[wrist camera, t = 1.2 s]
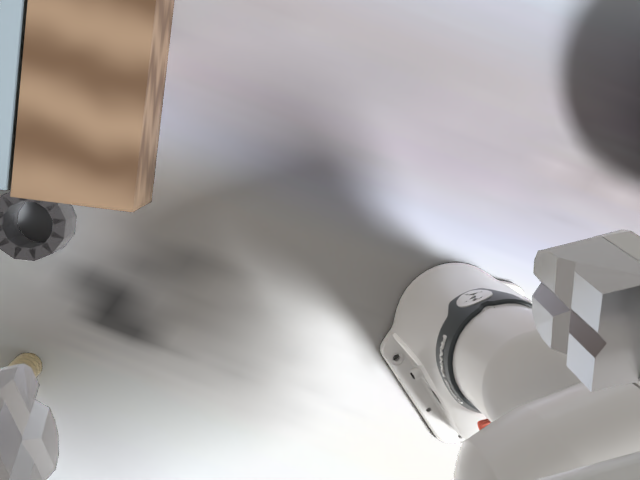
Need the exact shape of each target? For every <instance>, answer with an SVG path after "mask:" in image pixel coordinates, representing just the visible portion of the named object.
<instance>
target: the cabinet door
mask: <svg viewBox="0 0 640 480" xmlns="http://www.w3.org/2000/svg"><path fill="white" fill-rule="evenodd" d="M27 3H28V0H0V189H1V190H10V189H11V183H12V172H13V160H14V149H15V138H16V127H17V115H18V104H19V93H20V82H21V70H22V59H23V48H24V36H25V25H26V14H27Z"/></svg>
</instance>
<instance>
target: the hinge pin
mask: <svg viewBox="0 0 640 480" xmlns="http://www.w3.org/2000/svg"><path fill="white" fill-rule="evenodd" d="M22 363H24V364H26V365H28V366H29V367H31V368H32V370H33V372H34V374H35V377H37V376H38V375H39V374H40V372H41V370H42V362H41V360H40V359H39V357H38V356H36V355H35V354H32V353H23V354H20V355H19V356H17V357H16V358H15V359H14V360H13V361H12V362H11V363H10V364H9V365H8V366H12V365H17V364H22Z"/></svg>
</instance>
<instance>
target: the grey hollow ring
mask: <svg viewBox="0 0 640 480" xmlns="http://www.w3.org/2000/svg"><path fill="white" fill-rule="evenodd" d="M10 194H11V192H10V193H7V194H4V195H2V196H1V197H0V249H1V250H2V251H4V252H5V253H7V254H8V255H10V256H11V257H13V258H14V259H22V260H32V261H35V260H38V259H40V258H43V257H45V256H47V255H50V254H53V253H54V252H56V251H58V250H60V249H62V248H64V247H65V245H66V244H67V243H68V242H69V240H70V239H71V238H72V236H73V235H74V234H75V227H76V217H77V216H76V214H75V212H74V210H73V207H72V205H71V204H63V203H56V202H48V201H40V200H32V199H24V198H16V197H10ZM26 202H36V203H38V204H39V205H41V206H42V207H43V208H45V209H46V210H47V211H48V213H49V215H50V217H51V219H52V221H53V224H52V234H51V235H50V237H49V238H48V239H47V240H46V242H36V241H32V240H30V239H29V238H28V237H26V236H25V235H23V234H22V232H21V230H20V228H19V226H18V224H17V222H18V212H19V210H20V209H21V208H22V207H23V205H24V204H25V203H26Z"/></svg>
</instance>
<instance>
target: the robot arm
mask: <svg viewBox="0 0 640 480" xmlns="http://www.w3.org/2000/svg"><path fill="white" fill-rule="evenodd" d="M533 273H534V275H535V276H536V277H537V278H538V279H539V280H540V282H541V284H540V285H539V287H538V288H537V290H536V291H535V293H534V294H533V296H532V301H530V300H529V299H527V298H526V297H525V296H524V291H523V289H522V288H521V287H519V286H518V285H516V284H514V283H510V282H506V281H500V280H497V279H495V278H493V277H492V276H491V275H489V274H488V273H486V272H485V271H483V270H482V269H480V268H478V267H476V266H473V265H470V264H465V263H446V264H441V265H438V266H435V267H433V268H431V269H428V270H427V271H425V272H423V273H422V274H421V275H419V276H418V277H417V278H416V279H415V280H414V281H413V282H412V283H411V284H410V285H409V286H408V287H407V289H406V290H405V292H404V293H403V295H402V297H401V299H400V301H399V303H398V306H397V309H396V313H395V318H394V322H393V325H392V328H391V329H390V331H389V332H388V333H387V335H386V336H385V338H384V340H383V341H382V343H381V346H380V352H381V354H382V356H383V357H384V359H385V360H386V362H387V364H388V365H389V367H390V368H391V370H392V371H393V373H394V374H395V376H396V377H397V379H398V380H399V382H400V383H401V385H402V386H403V388H404V389H405V391H406V393H407V394H408V396H409V397H410V399H411V400H412V402H413V403H414V405H415V406H416V408H417V409H418V411H419V412H420V414H421V415H422V417H423V418H424V420H425V422H426V423H427V425H428V426H429V428H430V429H431V431H432V432H433V434H434V435H435V436H436V438H437V439H438V440H439V441H441V442H443V443H451V444H456V443H462V446H461V448H460V451H459V453H458V457H457V460H456V465H455V471H454V480H640V236H638V235H637V234H635V233H633V232H632V231H628V230H618V231H614V232H610V233H606V234H603V235H599V236H595V237H592V238H588V239H584V240H580V241H576V242H572V243H568V244H564V245H560V246H556V247H551V248H547V249H543V250H539V251H538V252H537V254H536V257H535V259H534V272H533ZM396 354H398V355H399V357H398V358H397V359H395V360H394V359H393V357H394V355H396ZM38 388H39V383H38V381H37V379H36V377H35V374H34V372H33V370H32V368H31V367H29V366H28V365H26V364H24V363H22V364H17V365H12V366H7V367H2V368H0V480H46V479H47V478H48V477H49V476H50V475H51V474H52V473H53V472H54V471H55V470H56V465H57V460H58V456H59V439H58V431H57V427H56V423H55V419H54V417H53V415H52V412H51V410H50V407H48V406H46V405H44V404H43V403H41V402H39V401H37V400H36V399H35V398H36V394H37V391H38ZM427 408H428V409H427ZM458 434H459V435H460V436H458Z"/></svg>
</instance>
